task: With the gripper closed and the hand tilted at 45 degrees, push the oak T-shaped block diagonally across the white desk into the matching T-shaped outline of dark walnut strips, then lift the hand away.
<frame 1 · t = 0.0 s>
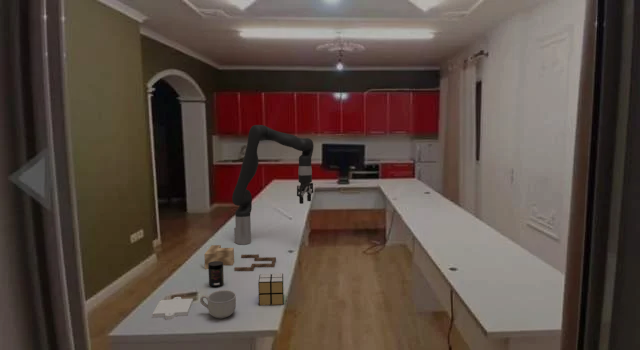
hand: (305, 202, 246), 29 cm above the table, tool pointing down, fingers open, 8 cm apart
T outline: (253, 263, 230), on the table
T block: (221, 264, 229), on the table
mounting plate: (173, 310, 173), on the table
teacup: (218, 315, 168), on the table
puzzle cube: (271, 301, 182), on the table
supplement container: (216, 285, 199), on the table
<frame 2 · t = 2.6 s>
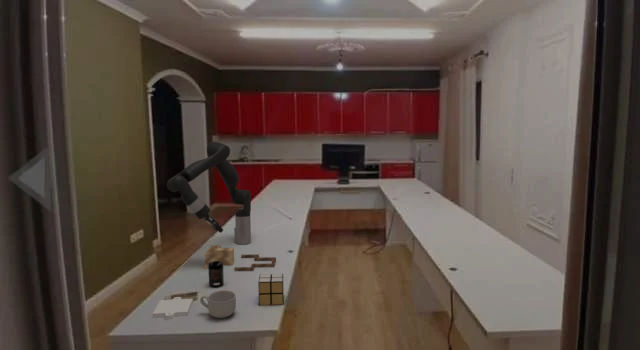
hand: (219, 230, 225), 19 cm above the table, tool tilted 40°, fingers open, 8 cm apart
nothing on the table moved.
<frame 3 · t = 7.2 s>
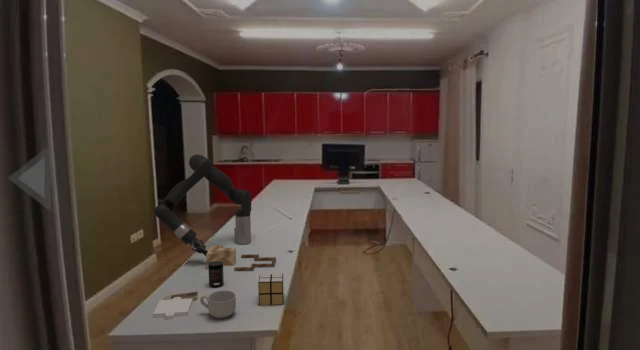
hand: (209, 256, 229), 4 cm above the table, tool tilted 45°, fingers closed
T block: (222, 264, 229), on the table, touching gripper
everything else where it was.
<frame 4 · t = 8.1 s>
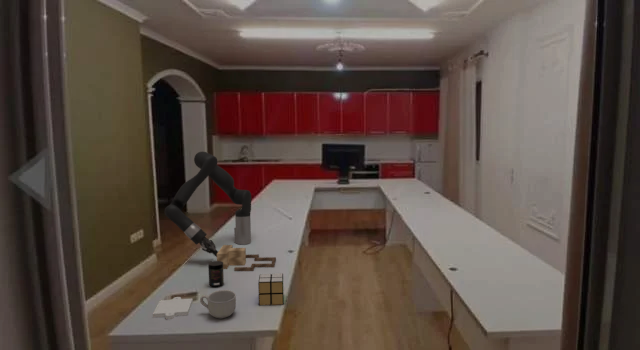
hand: (219, 256, 229), 4 cm above the table, tool tilted 45°, fingers closed
T block: (232, 264, 229), on the table, touching gripper
everything else where it was.
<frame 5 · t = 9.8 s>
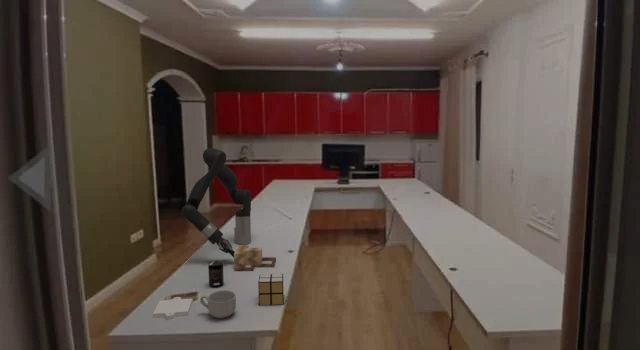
hand: (235, 256, 229), 4 cm above the table, tool tilted 45°, fingers closed
T block: (249, 263, 229), on the table, touching gripper
everything else where it was.
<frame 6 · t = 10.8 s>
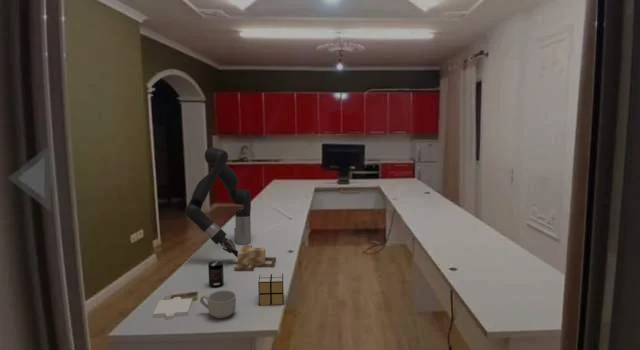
hand: (239, 255, 229), 4 cm above the table, tool tilted 45°, fingers closed
T block: (252, 263, 229), on the table, touching gripper
everything else where it was.
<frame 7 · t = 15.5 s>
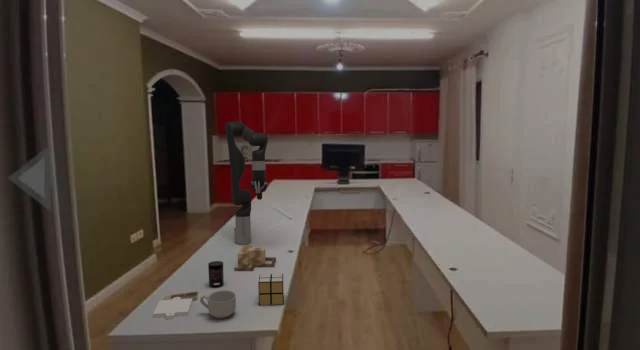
hand: (259, 199, 246), 31 cm above the table, tool pointing down, fingers closed
T block: (252, 263, 229), on the table
everything else where it was.
at the end: T block 0.4 cm from the T outline (horizontally); T block tilted 0°; T block moved 16.8 cm from its start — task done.
